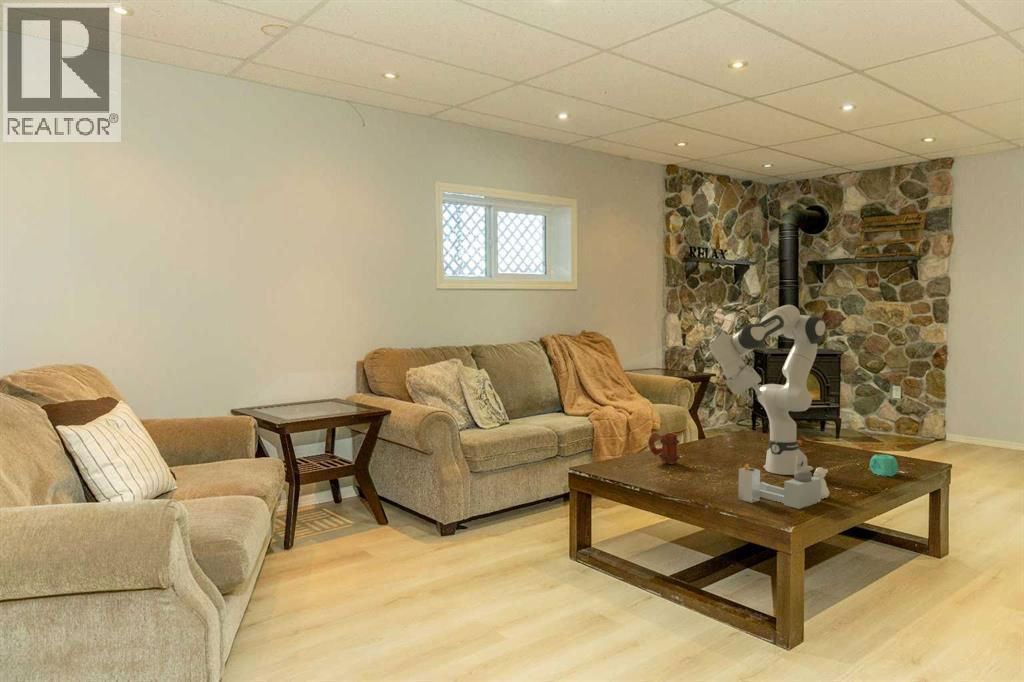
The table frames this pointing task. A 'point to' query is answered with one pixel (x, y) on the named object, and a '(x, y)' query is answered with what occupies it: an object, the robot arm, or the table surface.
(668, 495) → the table surface
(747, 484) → the block
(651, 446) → the mug
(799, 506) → the bracket
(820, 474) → the white creature statuette
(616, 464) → the table surface
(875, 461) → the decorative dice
